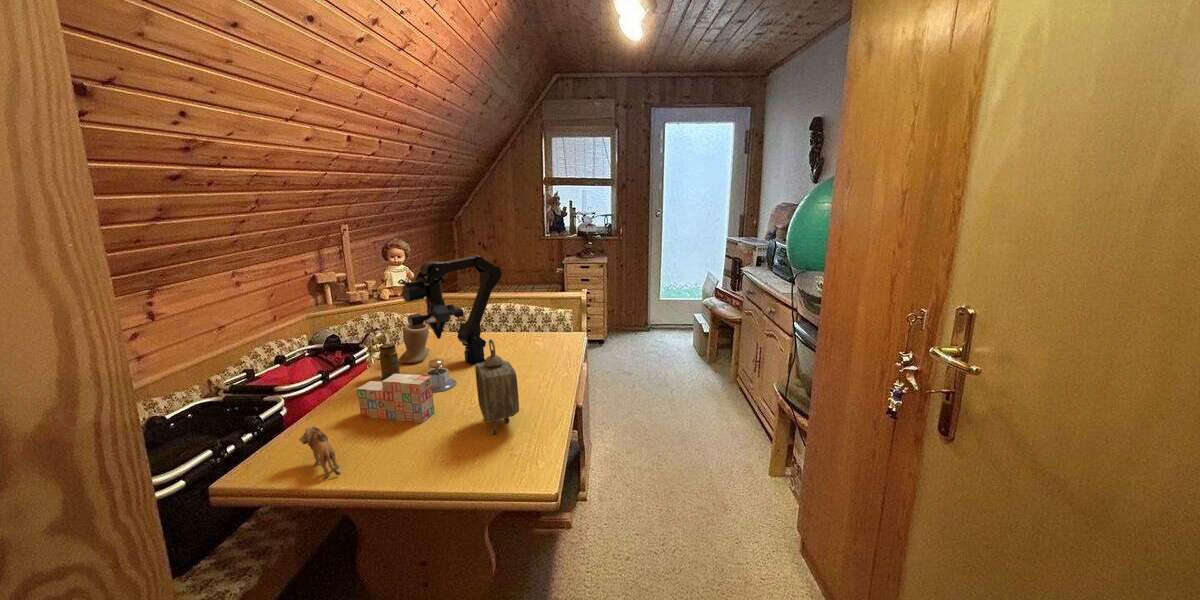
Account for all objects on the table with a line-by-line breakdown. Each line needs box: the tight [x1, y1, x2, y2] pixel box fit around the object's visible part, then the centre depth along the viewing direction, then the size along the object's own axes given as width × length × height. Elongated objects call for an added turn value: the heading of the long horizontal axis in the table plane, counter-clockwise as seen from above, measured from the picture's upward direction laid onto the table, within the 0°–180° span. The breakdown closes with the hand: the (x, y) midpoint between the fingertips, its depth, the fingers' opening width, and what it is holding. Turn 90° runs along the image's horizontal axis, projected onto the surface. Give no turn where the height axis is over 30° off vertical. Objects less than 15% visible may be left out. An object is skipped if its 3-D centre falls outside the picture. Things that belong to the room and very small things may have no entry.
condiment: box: [377, 343, 401, 382], centre depth 172 cm, size 7×8×12 cm
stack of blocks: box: [356, 373, 436, 424], centre depth 142 cm, size 21×6×12 cm, turn 76°
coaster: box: [432, 377, 457, 394], centre depth 164 cm, size 12×12×1 cm
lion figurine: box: [298, 426, 341, 479], centre depth 116 cm, size 15×5×9 cm, turn 53°
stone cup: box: [398, 322, 431, 364], centre depth 191 cm, size 15×12×15 cm
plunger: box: [428, 358, 444, 375], centre depth 163 cm, size 5×5×8 cm
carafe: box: [423, 367, 451, 389], centre depth 163 cm, size 10×8×5 cm
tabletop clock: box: [474, 338, 520, 435], centre depth 133 cm, size 14×9×25 cm, turn 23°
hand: (438, 338), depth 174 cm, fingers closed
